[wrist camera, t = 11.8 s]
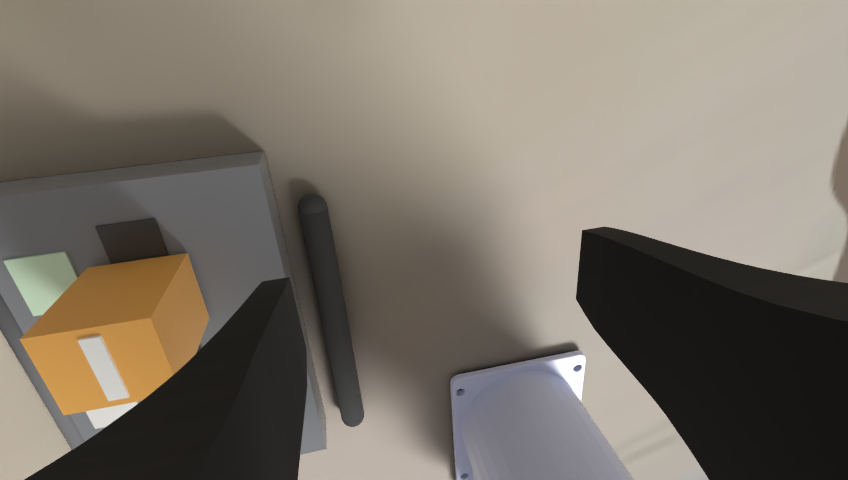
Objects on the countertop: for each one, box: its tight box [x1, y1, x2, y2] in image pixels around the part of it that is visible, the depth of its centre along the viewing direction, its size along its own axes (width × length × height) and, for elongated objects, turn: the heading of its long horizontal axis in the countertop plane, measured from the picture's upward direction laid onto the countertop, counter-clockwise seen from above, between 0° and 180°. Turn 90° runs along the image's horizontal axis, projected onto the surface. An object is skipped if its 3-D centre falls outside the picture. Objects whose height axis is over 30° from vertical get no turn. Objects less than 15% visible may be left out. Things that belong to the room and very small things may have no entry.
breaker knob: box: [20, 253, 210, 415], centre depth 16 cm, size 3×4×4 cm
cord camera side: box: [0, 294, 85, 450], centre depth 20 cm, size 13×1×1 cm, turn 4°
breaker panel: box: [0, 151, 326, 454], centre depth 20 cm, size 15×10×2 cm, turn 4°
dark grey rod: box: [298, 194, 364, 427], centre depth 22 cm, size 13×1×1 cm, turn 4°
